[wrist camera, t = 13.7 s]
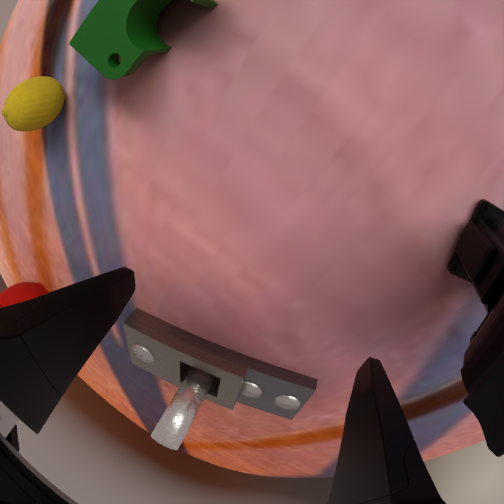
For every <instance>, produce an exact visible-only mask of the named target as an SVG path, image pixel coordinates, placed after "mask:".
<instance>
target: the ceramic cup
mask: <svg viewBox="0 0 504 504" xmlns="http://www.w3.org/2000/svg"><path fill="white" fill-rule="evenodd" d="M47 293H49V292H48V291H47V290H46V289H45V288H44V287H43V286H42V285H41V284H39V283H37V284H36V283H31V282H23V283H18V284H15V285H13V286H11V287H9V288H7V289H6V290H4V291H3V292H1V293H0V308H1V307H5V306H8V305H12V304H16V303H19V302H23V301H26V300H29V299H32V298H35V297H38V296H41V295H44V294H47Z"/></svg>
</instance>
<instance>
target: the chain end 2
mask: <svg viewBox="0 0 504 504" xmlns="http://www.w3.org/2000/svg"><path fill="white" fill-rule="evenodd" d="M168 335H170V336H173V337H175V338H177V339H179V340H181V341H184V342H186V343H188V344H190V345H193V346H195V347H197V348H199V349H202V350H204V351H207V352H209V353H211V354H214V355H216V356H219V357H221V358H224V359H226V360H229V361H231V362H234V363H236V364H239V365H242V366H244V367H247V368H248V369H247V372H246V375H245V378H244V381H243V383H242V386H241V389H240V392H239V395H238V397H237V400H236V401H237V402H240V403H243V404H245V405H248V406H251V407H254V408H257V409H260V410H263V411H266V412H269V413H272V414H275V415H278V416H281V417H284V418H288V419H291V420H292V419H293V417H294V416H295V415H296V414H297V413H298V411H299V410H300V409H301V408H302V407H303V405H304V404H305V403H306V402H307V400H308V399H309V398H310V397H311V395H312V394H313V393H314V391H315V390H316V386H317V381H318V380H317V379H314V378H310V377H307V376H304V375H301V374H297V373H294V372H291V371H288V370H285V369H282V368H279V367H276V366H273V365H270V364H267V363H265V362H262V361H259V360H256V359H254V358H251V357H248V356H245V355H243V354H240V353H237V352H235V351H232V350H230V349H227V348H225V347H222V346H220V345H217V344H215V343H212V342H210V341H207V340H205V339H203V338H200V337H198V336H196V335H193V334H191V333H189V332H186V331H184V330H182V329H180V328H177V327H175V326H173V327H172V329H171V330H170V331H169V333H168ZM191 367H192V366H190V365H188V364H186V363H185V373H186V374H188V372H189V370H190V369H191ZM220 380H221V378H219V377H215V379H214V381H213V383H212V385H213V386H216V387H218V388H219V385H220Z"/></svg>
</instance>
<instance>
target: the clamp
mask: <svg viewBox="0 0 504 504" xmlns="http://www.w3.org/2000/svg"><path fill="white" fill-rule="evenodd" d="M172 1H173V0H99V1H98V2H97V3H96V5H95V6H94V7H93V9H92V10H91V11H90V13H89V14H88V16H87V17H86V18H85V20H84V21H83V23H82V24H81V26H80V27H79V29H78V30H77V32H76V33H75V35H74V37H73V38H72V40H71V41H70V43H69V44H70V45H71V46H72V47H73V48H74V49H75V50H76V51H77V52H78V53H80V54H81V55H82V56H83V57H84V58H85V59H86V60H87V61H88V62H89V63H90V64H91V65H93V66H94V67H95V68H96V69H97V70H98V71H99V72H100V73H101V74H102V75H103V76H104V77H106V78H108V79H118V78H121V77H124V76H127V75H130V74H132V73H133V72H134V71H135V70H136V69H137V68H138V67H139V66H140V65H141V63H142V62H143V61H144V60H145V59H146V57H147V56H148V55H154V54H160V53H167V52H168V51H169V50H170V49H171V47H169V46H168V45H166V44H165V43H164V42H163V41H162V40H161V39H160V37H159V35H158V32H157V20H158V17H159V15H160V13H161V11H162V10H163V8H164V7H165V6H166V5H167V4H169V3H170V2H172ZM191 2H193V3H196V4H199V5H202V6H205V7H208V8H211V9H213V8H215V7H216V6H217V5H218V4H217V3H216V2H215V1H214V0H191ZM119 56H120V57H121V63H120V62H119Z"/></svg>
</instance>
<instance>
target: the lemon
mask: <svg viewBox="0 0 504 504" xmlns="http://www.w3.org/2000/svg"><path fill="white" fill-rule="evenodd" d="M64 100H65V95H64V90H63V87H62V85H61V84H60V83H59V82H58V81H57V80H55V79H54V78H51V77H44V76H39V77H34V78H30V79H28V80H26V81H24V82H22V83H20V84H18V85H17V86H16V87H15V88H14V89H13V90H12V91H11V92H10V93H9V95H8V97H7V99H6V101H5V104H4V108H3V109H2V115H3V116H4V118H5V121H6V122H7V124H8V125H9V126H10V127H11V128H13V129H14V130H17V131H33V130H37V129H40V128H42V127H44V126H46V125H48V124H49V123H51V122H52V121H53V120H54V119H55V118H56V117H57V116H58V115H59V113H60V112H61V110H62V107H63V104H64Z"/></svg>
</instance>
